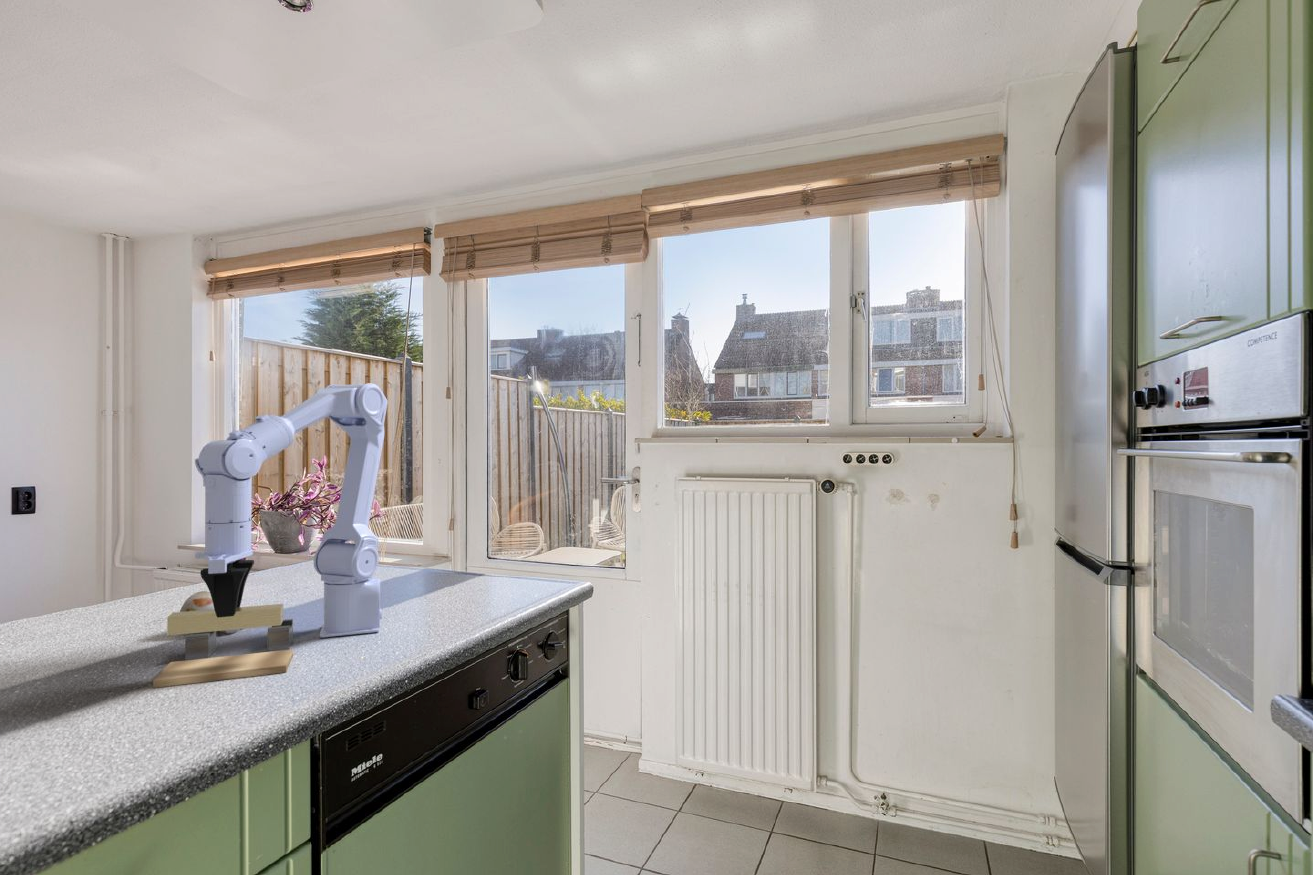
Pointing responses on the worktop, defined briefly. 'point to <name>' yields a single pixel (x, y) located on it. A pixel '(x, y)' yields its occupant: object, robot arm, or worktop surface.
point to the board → (224, 668)
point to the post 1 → (200, 645)
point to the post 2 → (280, 636)
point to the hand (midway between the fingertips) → (228, 613)
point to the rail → (224, 619)
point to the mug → (201, 605)
